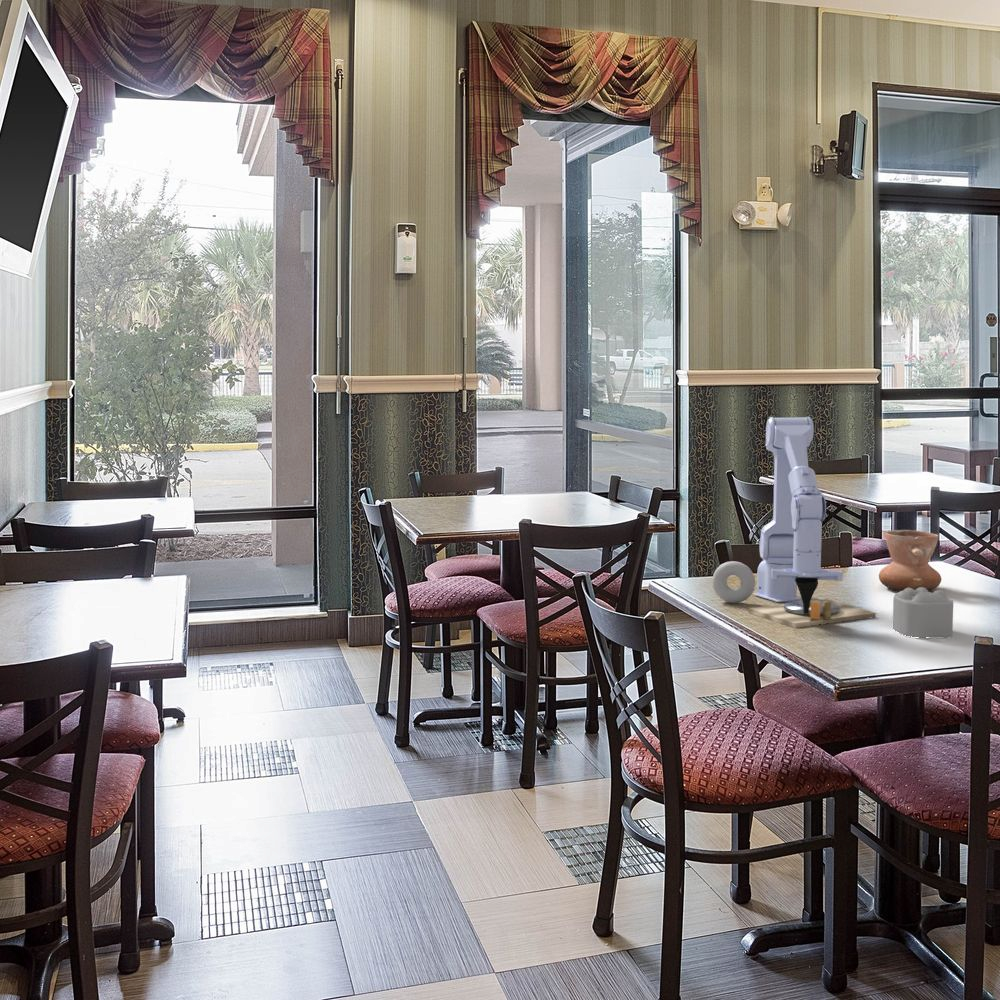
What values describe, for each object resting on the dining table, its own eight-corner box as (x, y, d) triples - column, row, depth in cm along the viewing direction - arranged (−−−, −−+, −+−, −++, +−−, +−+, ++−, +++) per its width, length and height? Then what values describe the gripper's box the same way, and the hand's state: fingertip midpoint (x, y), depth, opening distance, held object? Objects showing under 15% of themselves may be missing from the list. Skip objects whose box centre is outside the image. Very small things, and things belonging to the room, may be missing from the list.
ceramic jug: (948, 597, 255) (951, 538, 254) (884, 595, 258) (887, 536, 256) (931, 584, 273) (934, 528, 272) (872, 582, 276) (874, 527, 274)
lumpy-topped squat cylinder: (908, 639, 217) (910, 597, 216) (882, 624, 230) (883, 584, 229) (958, 637, 218) (960, 596, 217) (929, 622, 231) (931, 583, 230)
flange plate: (786, 618, 231) (786, 601, 230) (782, 602, 246) (782, 587, 245) (844, 620, 228) (844, 603, 228) (836, 604, 243) (837, 588, 243)
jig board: (748, 612, 242) (749, 591, 241) (826, 603, 251) (826, 583, 250) (797, 628, 226) (797, 606, 226) (878, 618, 235) (879, 596, 235)
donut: (755, 602, 252) (756, 561, 251) (753, 605, 249) (754, 563, 248) (713, 600, 256) (713, 558, 254) (710, 603, 252) (711, 561, 251)
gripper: (773, 552, 226) (772, 615, 228) (845, 554, 224) (843, 617, 226) (771, 547, 233) (770, 608, 235) (840, 548, 231) (838, 610, 232)
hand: (805, 612), depth 231 cm, fingers closed
